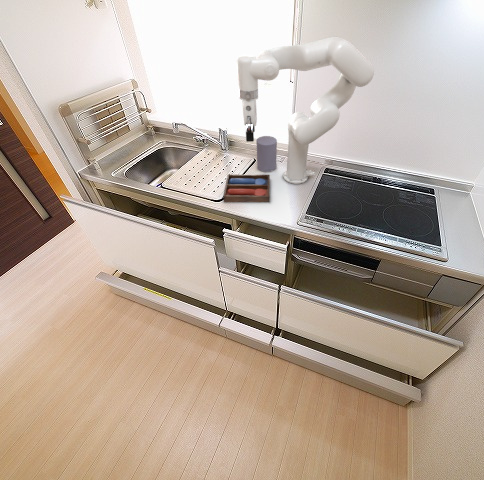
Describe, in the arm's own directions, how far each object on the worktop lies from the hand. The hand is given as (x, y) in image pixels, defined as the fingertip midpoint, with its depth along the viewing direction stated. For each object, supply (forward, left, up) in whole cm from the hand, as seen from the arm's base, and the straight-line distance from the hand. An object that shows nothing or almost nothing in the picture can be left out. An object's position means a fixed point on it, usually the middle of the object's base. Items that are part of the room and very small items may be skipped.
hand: (250, 136), depth 115 cm
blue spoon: (+3, +4, -22) cm, 23 cm away
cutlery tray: (+2, +8, -23) cm, 25 cm away
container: (-7, -14, -24) cm, 28 cm away
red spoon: (+3, +13, -22) cm, 26 cm away
